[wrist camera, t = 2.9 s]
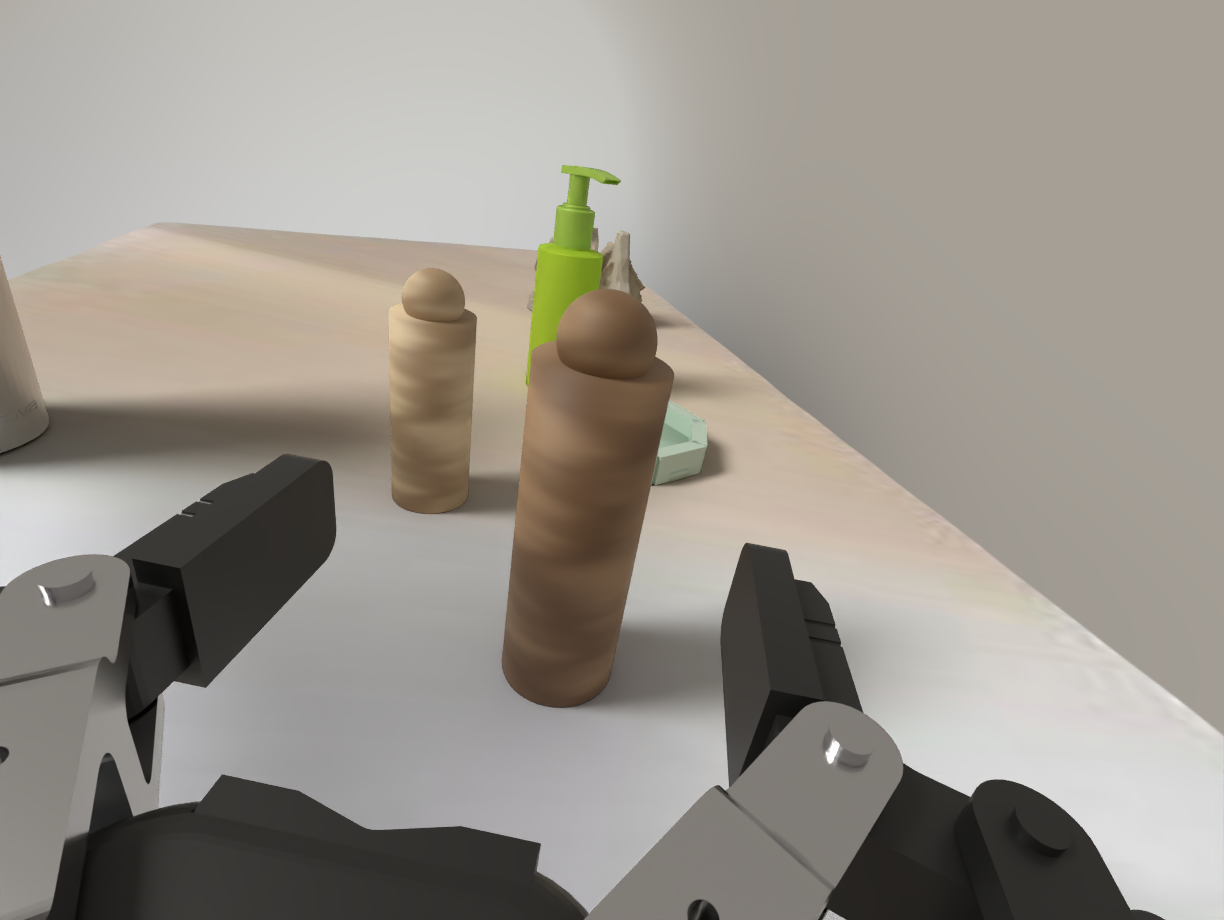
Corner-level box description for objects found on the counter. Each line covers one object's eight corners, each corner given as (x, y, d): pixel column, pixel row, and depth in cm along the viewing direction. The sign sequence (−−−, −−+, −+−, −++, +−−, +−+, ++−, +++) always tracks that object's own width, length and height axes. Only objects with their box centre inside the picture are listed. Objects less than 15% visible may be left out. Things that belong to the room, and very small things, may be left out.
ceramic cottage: (649, 335, 82) (664, 217, 76) (528, 326, 79) (534, 202, 73) (629, 312, 96) (640, 211, 90) (525, 304, 93) (530, 198, 87)
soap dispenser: (559, 405, 56) (589, 170, 47) (513, 379, 60) (532, 157, 51) (603, 395, 60) (638, 176, 51) (557, 371, 64) (582, 164, 55)
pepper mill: (487, 693, 26) (521, 291, 18) (518, 614, 31) (555, 265, 23) (603, 718, 26) (689, 322, 18) (616, 634, 31) (689, 289, 23)
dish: (538, 463, 45) (541, 435, 44) (568, 403, 57) (571, 379, 56) (702, 496, 45) (709, 468, 44) (700, 429, 56) (706, 405, 55)
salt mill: (378, 504, 38) (371, 268, 31) (410, 469, 42) (410, 255, 35) (452, 519, 37) (462, 285, 31) (477, 482, 42) (489, 269, 35)
